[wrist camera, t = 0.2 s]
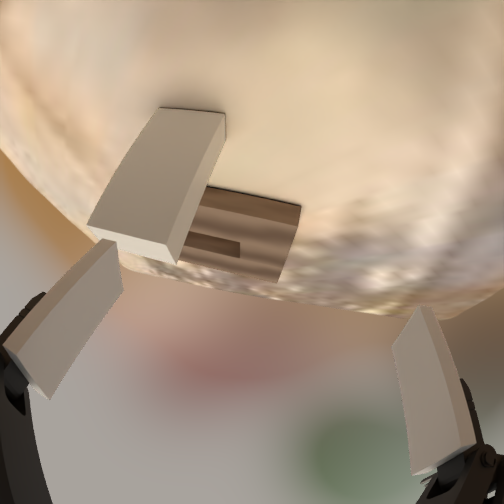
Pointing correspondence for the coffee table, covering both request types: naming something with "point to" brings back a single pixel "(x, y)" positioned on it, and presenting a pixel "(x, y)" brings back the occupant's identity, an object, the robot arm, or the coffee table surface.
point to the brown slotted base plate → (241, 234)
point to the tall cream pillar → (160, 184)
